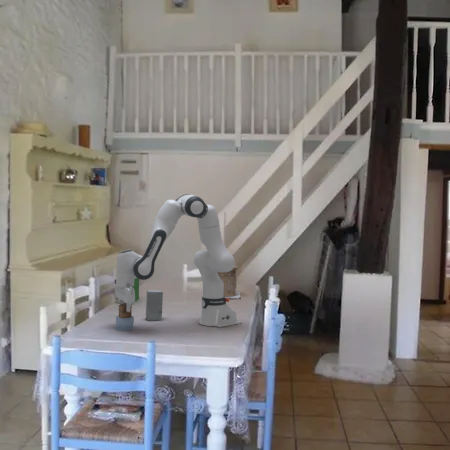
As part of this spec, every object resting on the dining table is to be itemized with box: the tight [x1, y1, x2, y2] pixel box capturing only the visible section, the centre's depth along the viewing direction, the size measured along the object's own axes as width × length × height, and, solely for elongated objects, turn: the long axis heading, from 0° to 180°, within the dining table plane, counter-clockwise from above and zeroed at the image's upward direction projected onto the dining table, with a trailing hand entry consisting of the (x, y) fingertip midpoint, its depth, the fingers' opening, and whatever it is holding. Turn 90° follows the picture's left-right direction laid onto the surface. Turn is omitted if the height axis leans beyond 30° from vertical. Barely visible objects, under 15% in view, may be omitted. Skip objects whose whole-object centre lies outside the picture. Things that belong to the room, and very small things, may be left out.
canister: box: [114, 315, 135, 332], centre depth 274 cm, size 9×9×6 cm
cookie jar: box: [218, 264, 241, 300], centre depth 371 cm, size 25×25×32 cm
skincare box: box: [145, 289, 164, 322], centre depth 296 cm, size 8×7×16 cm
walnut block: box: [118, 303, 133, 318], centre depth 274 cm, size 5×5×6 cm
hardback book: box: [123, 275, 140, 306], centre depth 343 cm, size 18×7×24 cm, turn 174°
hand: (125, 309), depth 274 cm, fingers open, 8 cm apart
